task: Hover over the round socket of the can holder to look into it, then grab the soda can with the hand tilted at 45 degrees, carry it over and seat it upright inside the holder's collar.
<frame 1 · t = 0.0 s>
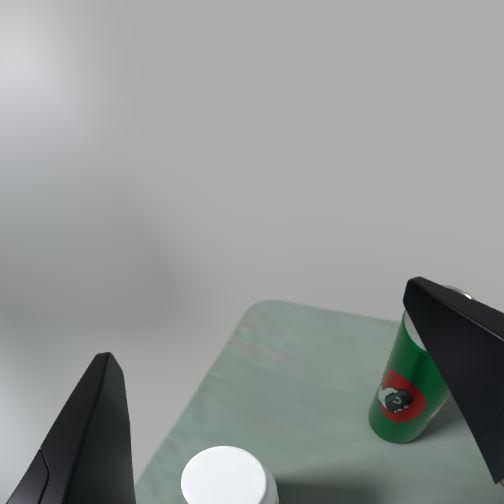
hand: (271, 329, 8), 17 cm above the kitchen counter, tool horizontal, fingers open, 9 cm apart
soda can: (396, 419, 20), on the kitchen counter
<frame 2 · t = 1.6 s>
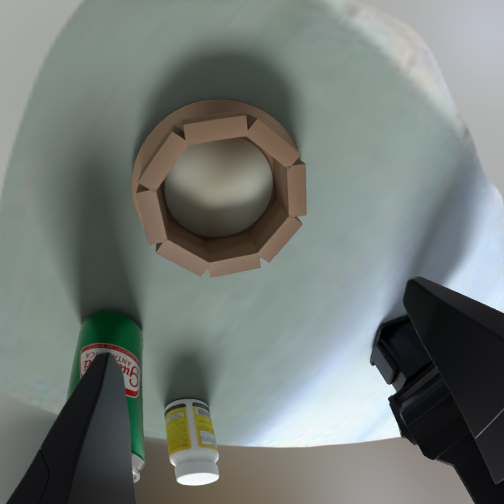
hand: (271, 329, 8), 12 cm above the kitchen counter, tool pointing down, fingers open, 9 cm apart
supplement bottle: (186, 407, 30), on the kitchen counter
soda can: (112, 329, 23), on the kitchen counter
holder: (216, 181, 19), on the kitchen counter
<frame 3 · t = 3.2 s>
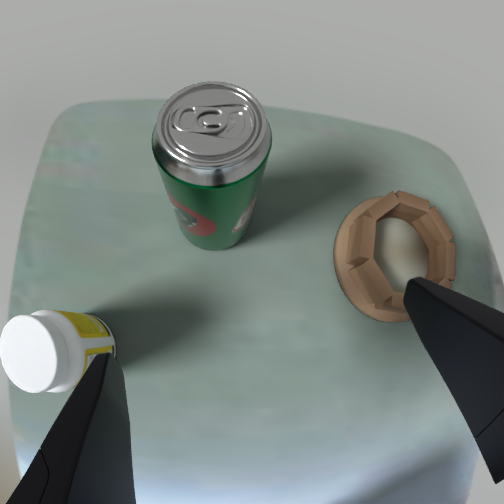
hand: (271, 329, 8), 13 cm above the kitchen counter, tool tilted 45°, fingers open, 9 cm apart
supplement bottle: (88, 346, 20), on the kitchen counter
soda can: (214, 219, 23), on the kitchen counter
holder: (390, 259, 24), on the kitchen counter
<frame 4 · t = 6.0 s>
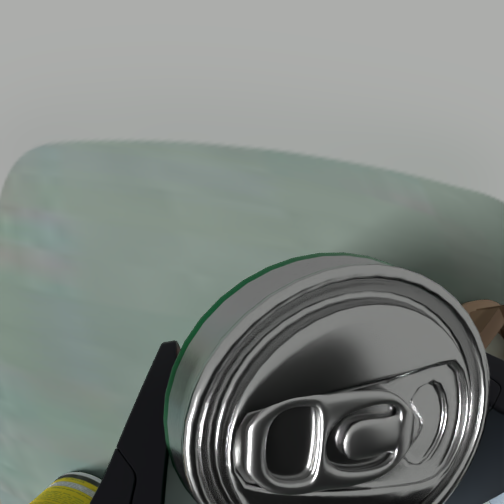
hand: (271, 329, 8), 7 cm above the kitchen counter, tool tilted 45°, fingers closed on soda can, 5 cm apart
supplement bottle: (94, 502, 12), on the kitchen counter
soda can: (255, 355, 15), on the kitchen counter, touching gripper
holder: (471, 377, 15), on the kitchen counter
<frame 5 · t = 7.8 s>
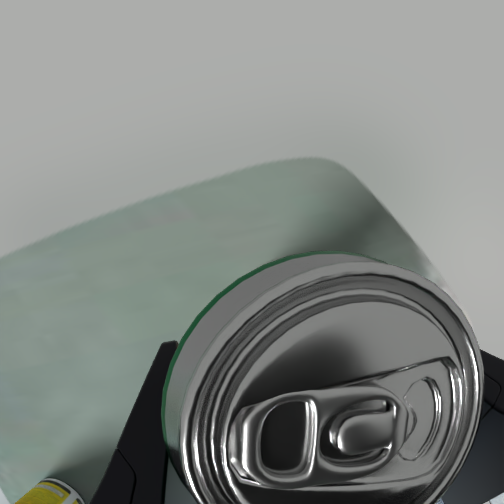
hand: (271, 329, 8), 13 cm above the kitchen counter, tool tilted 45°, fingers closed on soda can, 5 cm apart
supplement bottle: (63, 498, 16), on the kitchen counter
soda can: (254, 354, 15), point 6 cm above the kitchen counter, touching gripper
when the fingers open (8 cm above the kitchen counter, at t = 9.5 s): soda can stays where it is, resting on holder.
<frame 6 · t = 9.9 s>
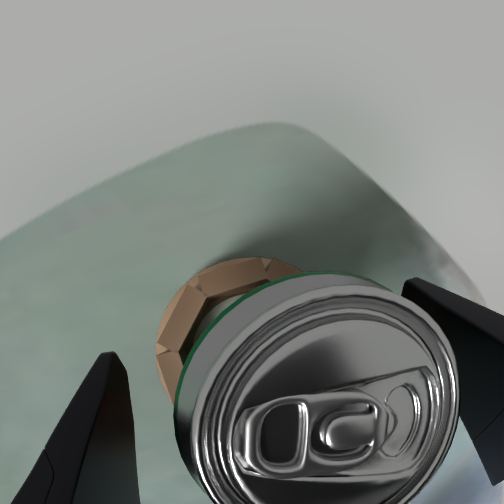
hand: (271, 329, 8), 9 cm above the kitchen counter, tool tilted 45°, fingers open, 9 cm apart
soda can: (255, 357, 15), point 1 cm above the kitchen counter, touching holder
holder: (252, 352, 16), on the kitchen counter
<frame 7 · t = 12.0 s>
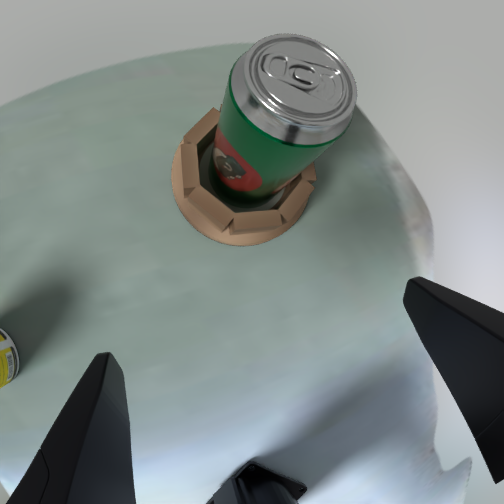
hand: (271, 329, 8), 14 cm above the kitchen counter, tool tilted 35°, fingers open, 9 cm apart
soda can: (243, 175, 22), point 1 cm above the kitchen counter, touching holder
holder: (241, 177, 23), on the kitchen counter
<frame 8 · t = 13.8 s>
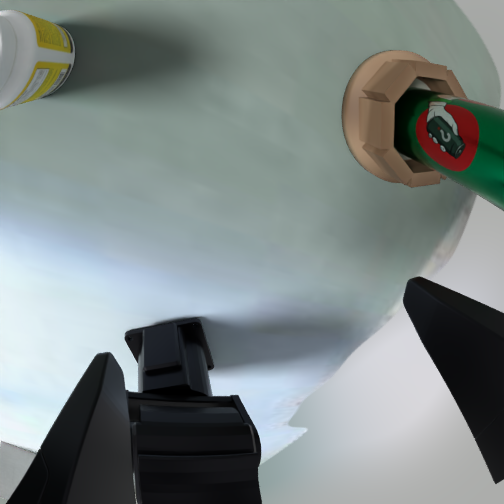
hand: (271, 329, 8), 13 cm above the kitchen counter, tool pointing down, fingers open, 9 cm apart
grey pointed block: (19, 450, 32), on the kitchen counter
supplement bottle: (42, 61, 13), on the kitchen counter
soda can: (406, 119, 19), point 1 cm above the kitchen counter, touching holder
holder: (399, 115, 20), on the kitchen counter
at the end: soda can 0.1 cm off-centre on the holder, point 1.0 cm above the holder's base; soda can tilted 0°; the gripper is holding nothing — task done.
